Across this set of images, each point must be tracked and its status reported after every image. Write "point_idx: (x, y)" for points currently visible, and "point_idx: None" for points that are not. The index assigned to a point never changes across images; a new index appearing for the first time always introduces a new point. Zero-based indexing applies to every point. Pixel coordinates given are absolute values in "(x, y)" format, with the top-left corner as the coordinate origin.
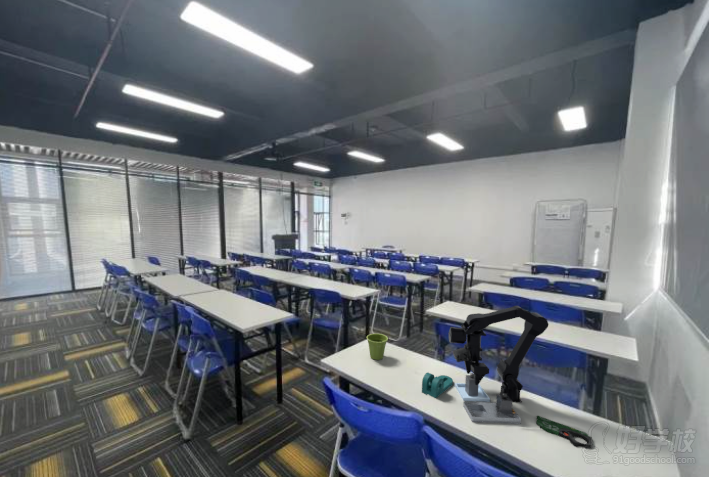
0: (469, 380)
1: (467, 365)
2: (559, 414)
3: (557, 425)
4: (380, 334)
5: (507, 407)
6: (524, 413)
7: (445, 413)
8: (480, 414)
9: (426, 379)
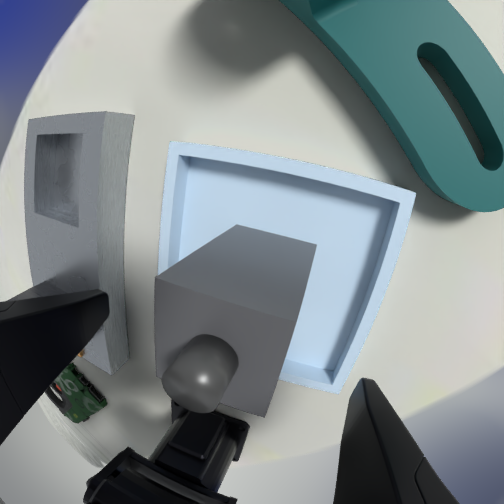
0: (157, 277)
1: (369, 482)
2: None
3: (75, 402)
4: None
5: None
6: (117, 387)
7: (118, 8)
8: (32, 169)
9: None
